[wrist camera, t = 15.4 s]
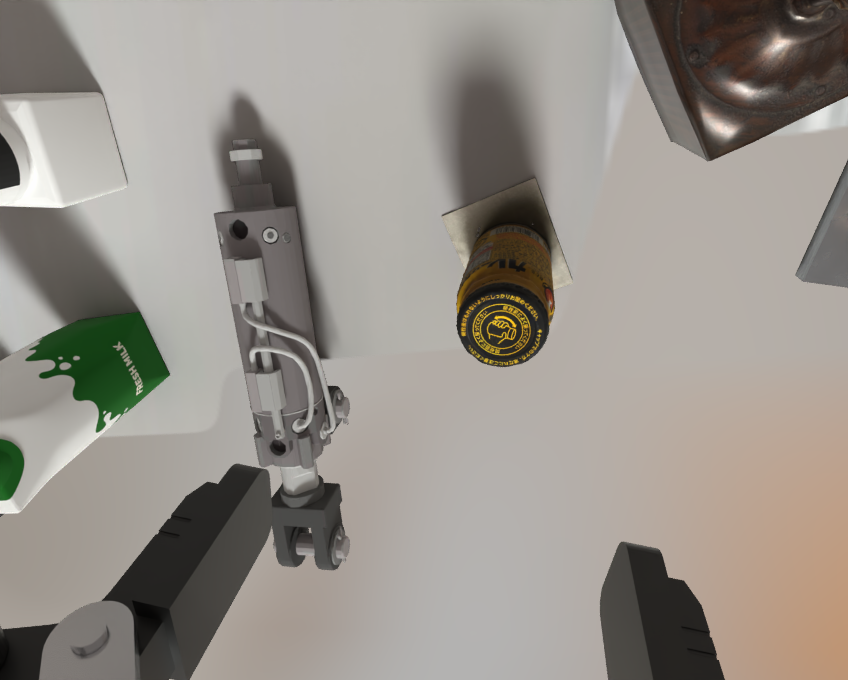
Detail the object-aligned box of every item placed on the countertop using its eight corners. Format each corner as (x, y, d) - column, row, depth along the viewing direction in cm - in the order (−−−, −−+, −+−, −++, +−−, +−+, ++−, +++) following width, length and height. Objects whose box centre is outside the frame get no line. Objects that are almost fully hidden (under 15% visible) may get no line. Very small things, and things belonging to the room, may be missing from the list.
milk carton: (182, 381, 51) (3, 544, 34) (108, 388, 54) (-95, 544, 36) (143, 300, 48) (-79, 437, 30) (65, 311, 50) (-183, 444, 33)
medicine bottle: (23, 92, 40) (-153, 102, 30) (104, 91, 39) (-50, 102, 29) (55, 186, 44) (-93, 224, 33) (130, 188, 43) (1, 228, 32)
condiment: (484, 312, 42) (468, 393, 32) (441, 216, 39) (409, 271, 29) (573, 281, 40) (587, 359, 29) (535, 176, 37) (536, 221, 26)
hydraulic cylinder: (306, 520, 54) (259, 593, 45) (243, 147, 43) (164, 142, 34) (373, 524, 53) (339, 601, 43) (326, 139, 42) (266, 131, 32)
